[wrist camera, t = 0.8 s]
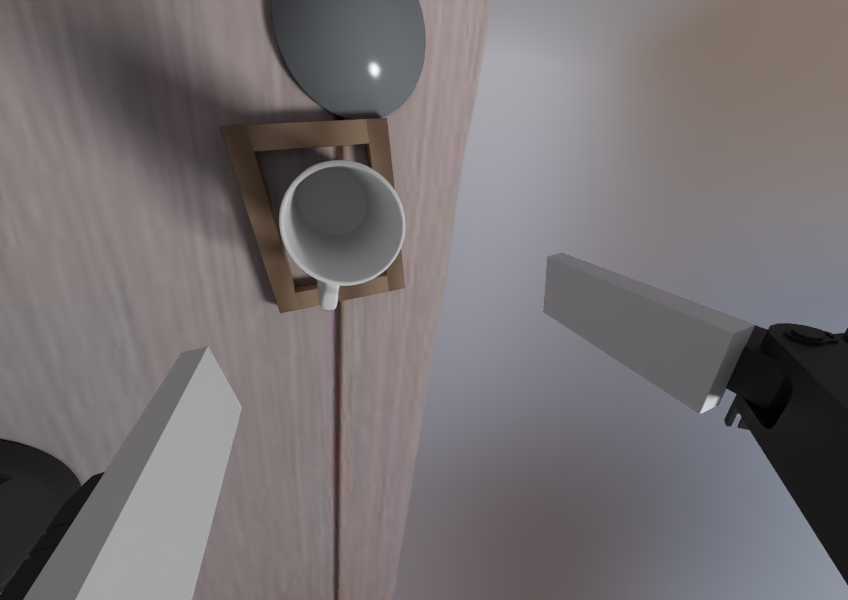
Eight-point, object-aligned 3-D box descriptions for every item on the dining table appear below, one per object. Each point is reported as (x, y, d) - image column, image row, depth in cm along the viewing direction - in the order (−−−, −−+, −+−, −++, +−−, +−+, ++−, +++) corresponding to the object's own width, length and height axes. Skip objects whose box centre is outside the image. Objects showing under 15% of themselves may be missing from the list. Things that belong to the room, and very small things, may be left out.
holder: (281, 306, 29) (280, 313, 28) (224, 128, 22) (219, 126, 21) (401, 282, 32) (405, 287, 31) (382, 120, 26) (386, 118, 24)
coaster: (295, 124, 24) (295, 123, 23) (249, -80, 19) (248, -86, 18) (427, 117, 27) (429, 117, 26) (417, -61, 22) (420, -66, 21)
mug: (297, 147, 24) (288, 139, 14) (377, 172, 27) (419, 182, 17) (280, 264, 28) (264, 328, 17) (354, 277, 30) (377, 338, 20)
